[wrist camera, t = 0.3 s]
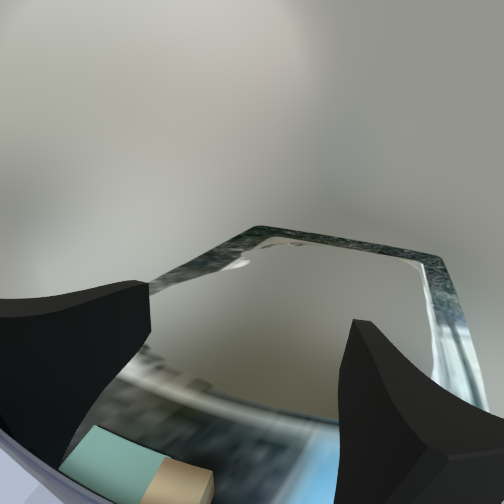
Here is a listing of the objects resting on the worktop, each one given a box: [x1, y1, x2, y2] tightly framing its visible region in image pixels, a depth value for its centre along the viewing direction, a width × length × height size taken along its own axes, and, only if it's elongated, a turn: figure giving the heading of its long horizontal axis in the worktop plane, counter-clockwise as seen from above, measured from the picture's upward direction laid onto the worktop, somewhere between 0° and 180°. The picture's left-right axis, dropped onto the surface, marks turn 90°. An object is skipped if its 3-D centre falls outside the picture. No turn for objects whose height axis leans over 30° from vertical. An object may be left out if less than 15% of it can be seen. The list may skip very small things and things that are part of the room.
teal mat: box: [59, 425, 171, 504], centre depth 22 cm, size 7×9×1 cm
